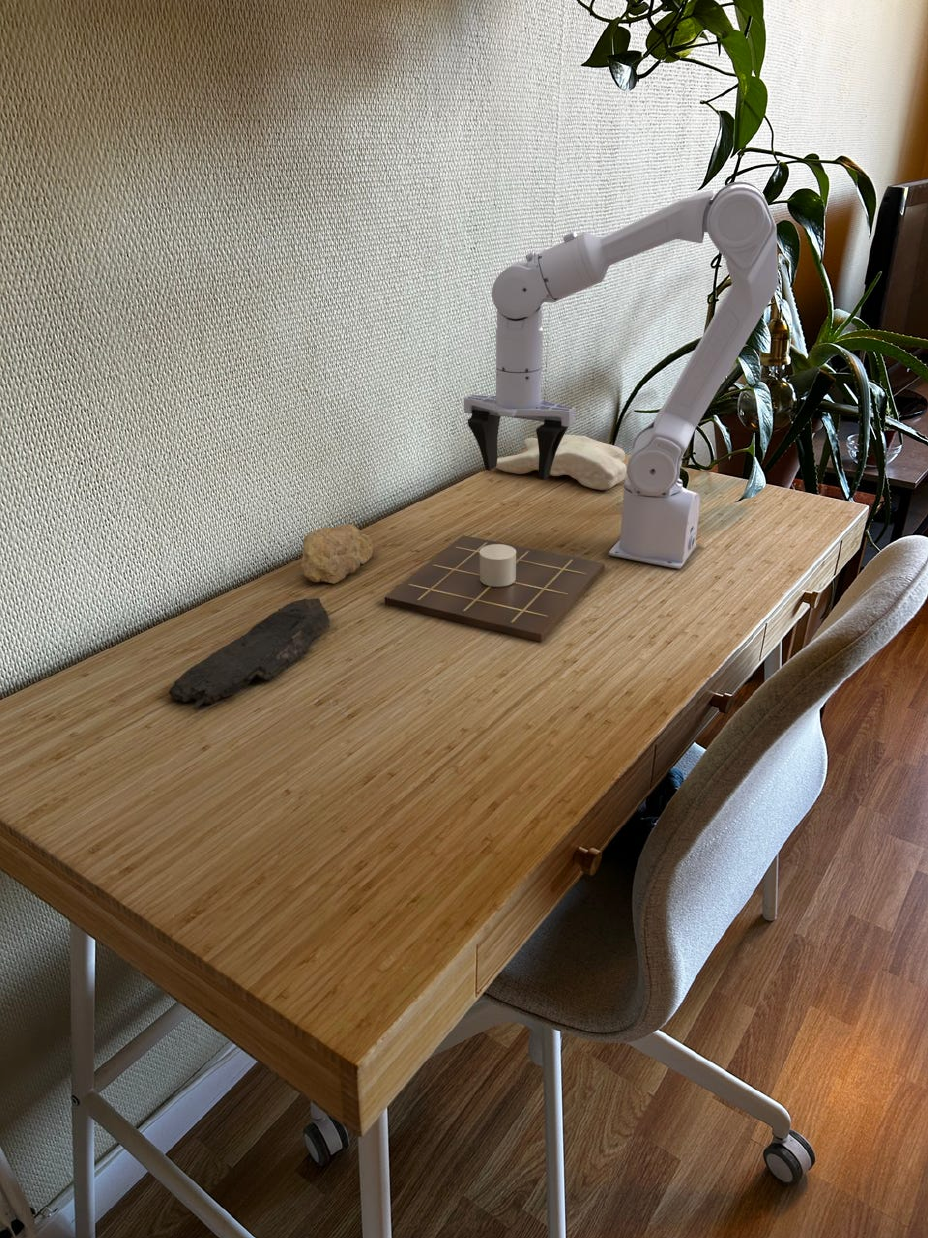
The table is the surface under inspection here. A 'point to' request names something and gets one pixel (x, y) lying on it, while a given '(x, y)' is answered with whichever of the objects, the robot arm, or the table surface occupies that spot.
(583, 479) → the decorative stone
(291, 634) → the wood
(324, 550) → the stone tool
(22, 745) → the table surface
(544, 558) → the board
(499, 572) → the cream short cylinder
